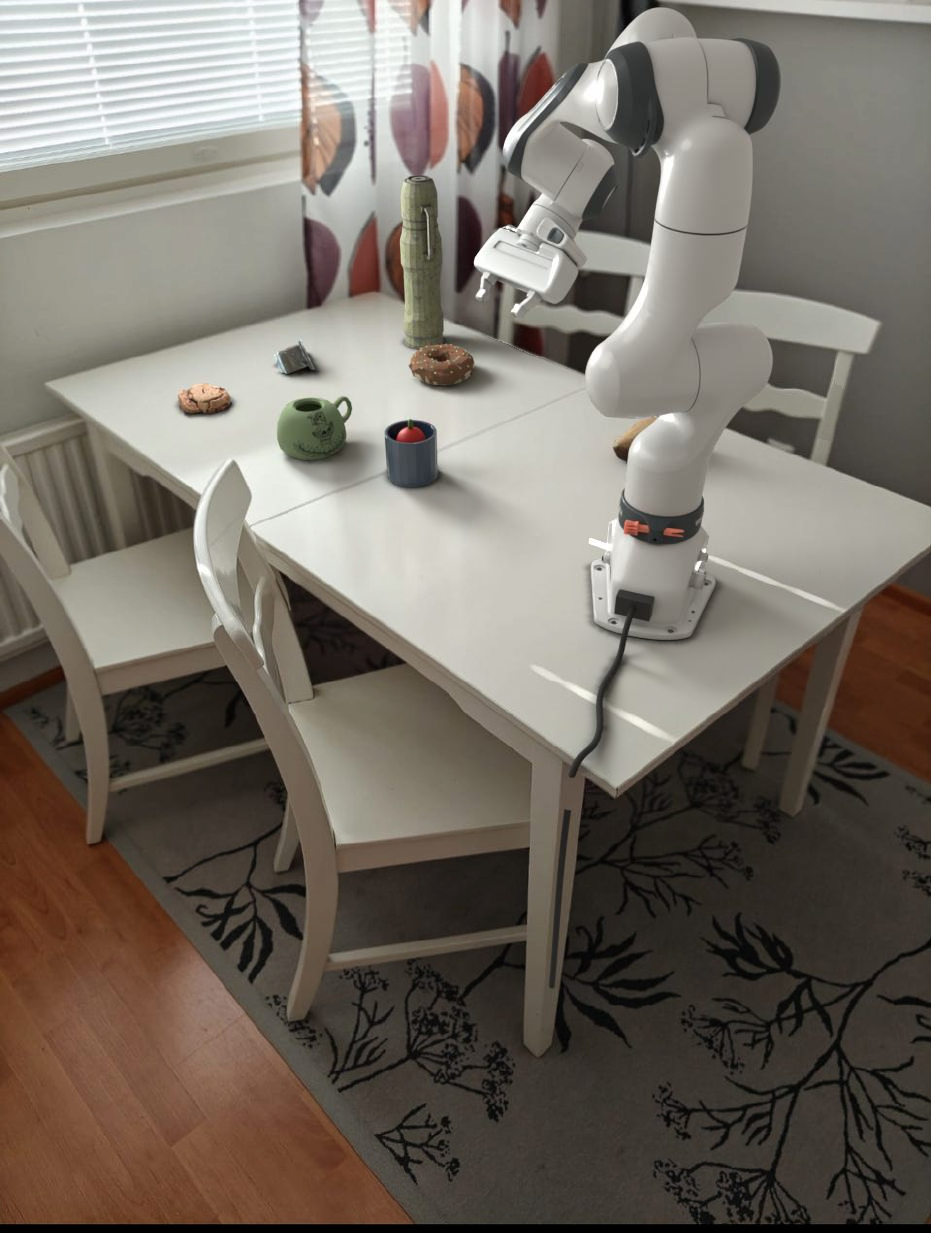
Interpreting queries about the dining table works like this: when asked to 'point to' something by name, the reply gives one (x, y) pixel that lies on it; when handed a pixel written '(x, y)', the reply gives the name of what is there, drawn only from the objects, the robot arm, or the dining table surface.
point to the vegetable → (630, 437)
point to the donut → (442, 364)
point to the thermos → (421, 263)
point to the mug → (312, 428)
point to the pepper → (410, 434)
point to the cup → (411, 456)
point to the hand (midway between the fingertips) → (497, 308)
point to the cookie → (204, 399)
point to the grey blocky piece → (293, 358)
